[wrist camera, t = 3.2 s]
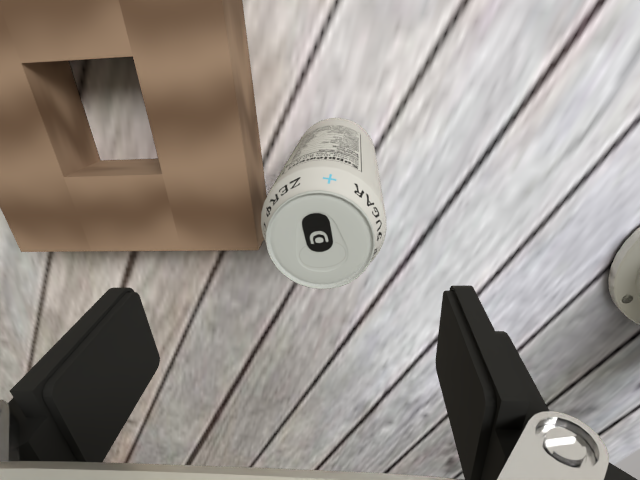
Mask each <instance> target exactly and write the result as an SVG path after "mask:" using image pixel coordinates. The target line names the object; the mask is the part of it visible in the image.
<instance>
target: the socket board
mask: <svg viewBox="0 0 640 480" xmlns="http://www.w3.org/2000/svg"><path fill="white" fill-rule="evenodd" d="M118 57H133V59H134V63H135V67H136V71H137V75H138V79H139V83H140V87H141V91H142V95H143V99H144V103H145V107H146V111H147V115H148V119H149V123H150V127H151V131H152V135H153V139H154V143H155V147H156V151H157V155H158V159H134V160H103V161H100V158H99V154H98V151H97V148H96V145H95V142H94V139H93V136H92V133H91V130H90V126H89V123H88V120H87V117H86V114H85V111H84V108H83V105H82V101H81V98H80V95H79V92H78V89H77V86H76V83H75V80H74V77H73V73H72V70H71V67H70V64H69V61H70V60H86V59H102V58H118ZM266 198H267V195H266V187H265V179H264V171H263V163H262V155H261V147H260V139H259V131H258V123H257V115H256V107H255V99H254V91H253V83H252V75H251V67H250V59H249V51H248V43H247V35H246V27H245V19H244V11H243V3H242V0H0V208H1V210H2V212H3V214H4V216H5V218H6V220H7V222H8V225H9V227H10V229H11V231H12V233H13V235H14V237H15V240H16V242H17V244H18V246H19V248H20V250H21V252H54V251H211V250H259V248H260V246H261V244H262V242H263V240H264V237H263V234H262V228H261V212H262V208H263V205H264V202H265V200H266Z"/></svg>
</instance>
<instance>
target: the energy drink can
mask: <svg viewBox="0 0 640 480" xmlns="http://www.w3.org/2000/svg"><path fill="white" fill-rule="evenodd" d="M261 228H262V234H263V237H264V240H265V242H266V246H267V251H268V253H269V256H270V258H271V260H272V262H273V263H274V265H275V266H276V268H277V269H278V270H279V271H280V272H281V273H282V274H283V275H284V276H286V277H287V278H289V279H290V280H291V281H293V282H295V283H297V284H299V285H302V286H306V287H309V288H316V289H331V288H336V287H340V286H343V285H345V284H348V283H350V282H351V281H353V280H354V279H356V278H357V277H359V276H360V275H361V274H362V273H363V272H364V271H365V269H366V268H367V267H368V265H369V264H370V262H371V261H372V260H373V259H374V258H375V257H376V255H377V254H378V252H379V251H380V249H381V247H382V244H383V242H384V239H385V234H386V214H385V208H384V202H383V196H382V190H381V184H380V178H379V172H378V166H377V160H376V154H375V149H374V145H373V142H372V140H371V138H370V136H369V135H368V134H367V132H366V131H365V130H364V129H363V128H362V127H361V126H359V125H358V124H356V123H354V122H353V121H350V120H347V119H342V118H330V119H326V120H322V121H320V122H318V123H316V124H314V125H313V126H312V127H310V128H309V129H308V130H307V131H306V133H305V134H304V135H303V137H302V138H301V140H300V142H299V143H298V145H297V147H296V148H295V150H294V152H293V153H292V155H291V157H290V158H289V160H288V162H287V163H286V165H285V167H284V168H283V170H282V172H281V173H280V175H279V177H278V178H277V180H276V182H275V183H274V185H273V187H272V188H271V190H270V192H269V194H268V196H267V198H266V200H265V202H264V205H263V208H262V212H261Z"/></svg>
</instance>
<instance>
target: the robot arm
mask: <svg viewBox="0 0 640 480" xmlns="http://www.w3.org/2000/svg"><path fill="white" fill-rule="evenodd" d="M608 282H609V292H610V295H611V298H612V300H613V302H614V303H615V305H616V306H617V308H618V309H619V310H620V311H621V312H622V313H623V314H624V315H625V316H626V317H627V318H629V319H630V320H632V321H633V322H635V323H636V324H638V325H640V227H639V228H638V229H637V230H636V231H635V232H634V233H633V234H632V235H631V236H630V237H629V238H628V239H627V240H626V241H625V242H624V244H623V245H622V247H621V248H620V250H619V251H618V252H617V254H616V256H615V258H614V261H613V263H612V265H611V268H610V273H609V277H608ZM159 361H160V357H159V353H158V350H157V347H156V344H155V341H154V338H153V335H152V332H151V329H150V326H149V323H148V320H147V317H146V314H145V311H144V308H143V305H142V302H141V299H140V296H139V294H138V293H136V292H134V290H133V289H132V288H110V289H109V290H108V291H107V292H106V293H105V294H104V295H103V296H102V297H101V298H100V299H99V300H98V301H97V302H96V303H95V304H94V305H93V306H92V307H91V308H90V309H89V310H88V311H87V312H86V313H85V314H84V315H83V316H82V317H81V318H80V319H79V320H78V322H77V323H76V324H75V325H74V326H73V327H72V328H71V329H70V330H69V331H68V332H67V333H66V334H65V335H64V336H63V337H62V338H61V339H60V340H59V341H58V342H57V343H56V344H55V345H54V346H53V347H52V348H51V349H50V350H49V351H48V352H47V353H46V354H45V355H44V356H43V357H42V358H41V359H40V360H39V361H38V363H37V364H36V365H35V366H34V367H33V368H32V369H31V370H30V371H29V372H28V373H27V374H26V375H25V376H24V377H23V378H22V379H21V380H20V381H19V382H18V383H17V384H16V385H15V386H14V387H13V388H12V389H11V390H10V392H11V394H12V395H13V397H14V398H13V399H12V400H11V401H10V402H9V403H7V402H6V401H4V400H0V480H461V479H452V478H443V477H433V476H419V475H402V474H385V473H369V472H346V471H322V470H299V469H275V468H249V467H222V466H194V465H166V464H135V463H102V462H103V460H104V458H105V457H106V455H107V453H108V451H109V450H110V448H111V446H112V445H113V443H114V441H115V440H116V438H117V436H118V434H119V433H120V431H121V429H122V428H123V426H124V424H125V423H126V421H127V419H128V418H129V416H130V414H131V412H132V411H133V409H134V407H135V406H136V404H137V402H138V401H139V399H140V397H141V396H142V394H143V392H144V390H145V389H146V387H147V385H148V384H149V382H150V380H151V379H152V377H153V375H154V374H155V372H156V370H157V368H158V366H159ZM436 370H437V374H438V378H439V382H440V386H441V390H442V393H443V397H444V401H445V405H446V409H447V413H448V416H449V420H450V424H451V428H452V432H453V435H454V439H455V443H456V447H457V451H458V454H459V458H460V462H461V466H462V470H463V473H464V477H465V480H637V479H635V478H634V477H632V476H631V475H629V474H627V473H626V472H624V471H622V470H621V469H619V468H617V467H616V466H614V465H612V464H611V463H609V454H608V451H607V449H606V446H605V444H604V443H603V441H602V440H601V438H600V437H599V436H598V434H597V433H595V432H594V431H593V430H592V429H591V428H590V427H589V426H588V425H586V424H585V423H583V422H581V421H580V420H578V419H577V418H574V417H572V416H569V415H567V414H564V413H560V412H554V411H549V409H548V408H547V406H546V404H545V402H544V400H543V398H542V397H541V395H540V393H539V391H538V389H537V387H536V385H535V384H534V382H533V380H532V378H531V376H530V374H529V372H528V371H527V369H526V367H525V365H524V363H523V361H522V359H521V358H520V356H519V354H518V352H517V350H516V348H515V346H514V345H513V343H512V341H511V339H510V337H509V336H508V334H507V333H505V332H504V331H495V330H494V328H493V326H492V324H491V322H490V320H489V318H488V316H487V314H486V312H485V310H484V308H483V306H482V304H481V302H480V300H479V298H478V296H477V294H476V292H475V290H474V288H473V287H472V286H451V288H450V291H444V293H443V300H442V308H441V317H440V326H439V335H438V344H437V353H436Z"/></svg>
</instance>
